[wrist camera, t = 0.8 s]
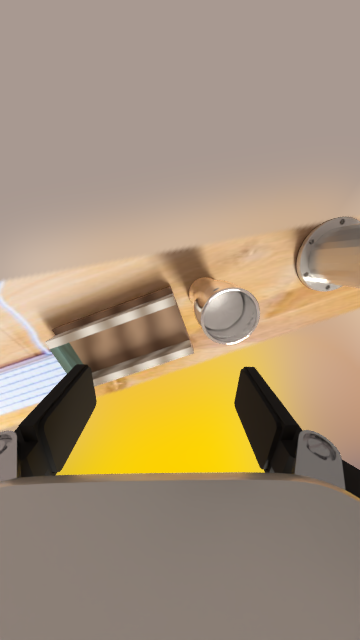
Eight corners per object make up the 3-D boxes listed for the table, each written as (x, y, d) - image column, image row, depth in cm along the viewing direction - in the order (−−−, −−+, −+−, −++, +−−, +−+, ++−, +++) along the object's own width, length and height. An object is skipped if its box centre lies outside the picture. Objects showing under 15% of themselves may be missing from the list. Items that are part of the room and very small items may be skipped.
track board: (170, 286, 31) (170, 289, 27) (192, 347, 36) (195, 358, 32) (56, 327, 33) (40, 336, 29) (91, 381, 38) (82, 395, 34)
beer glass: (200, 317, 34) (221, 357, 20) (179, 290, 32) (185, 313, 18) (228, 295, 33) (273, 322, 19) (208, 266, 31) (241, 271, 17)
